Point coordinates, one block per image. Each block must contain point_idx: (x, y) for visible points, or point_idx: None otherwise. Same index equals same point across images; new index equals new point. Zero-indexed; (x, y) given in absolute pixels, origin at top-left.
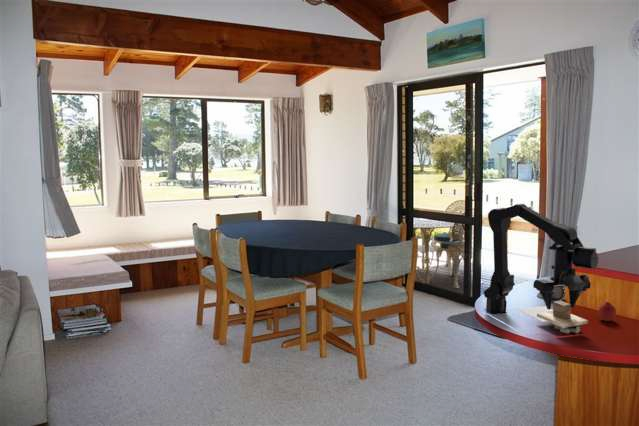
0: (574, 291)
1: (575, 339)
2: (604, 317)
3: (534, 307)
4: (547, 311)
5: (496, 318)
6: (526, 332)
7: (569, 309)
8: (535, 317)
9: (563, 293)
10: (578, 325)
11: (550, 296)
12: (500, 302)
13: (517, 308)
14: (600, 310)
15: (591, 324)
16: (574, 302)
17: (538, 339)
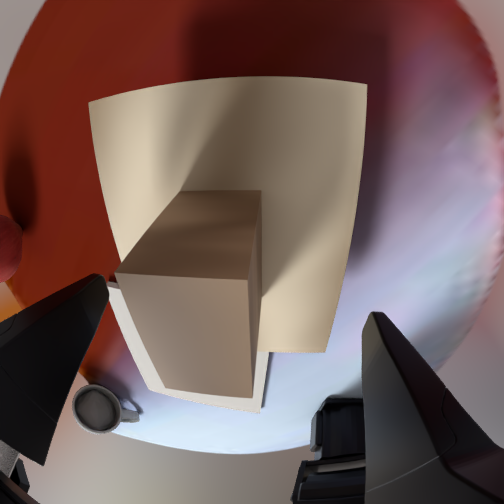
0: (2, 400)
1: (288, 30)
2: (10, 228)
3: (191, 399)
4: None
5: None
6: (460, 238)
7: (160, 234)
8: (262, 355)
9: (80, 396)
10: None
11: (459, 449)
12: (355, 439)
13: (255, 412)
14: (2, 258)
15: (62, 222)
16: (59, 300)
17: (489, 135)
